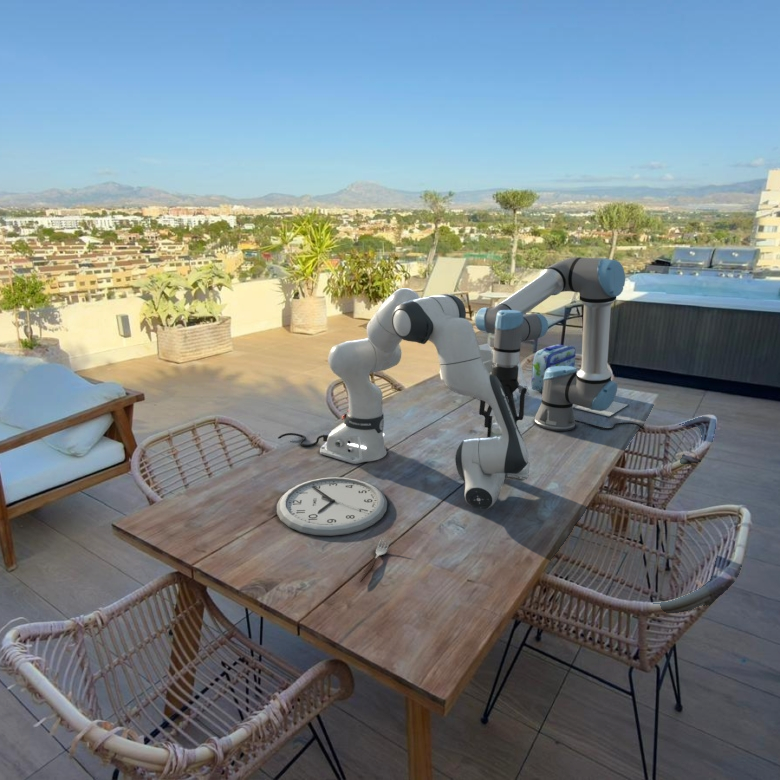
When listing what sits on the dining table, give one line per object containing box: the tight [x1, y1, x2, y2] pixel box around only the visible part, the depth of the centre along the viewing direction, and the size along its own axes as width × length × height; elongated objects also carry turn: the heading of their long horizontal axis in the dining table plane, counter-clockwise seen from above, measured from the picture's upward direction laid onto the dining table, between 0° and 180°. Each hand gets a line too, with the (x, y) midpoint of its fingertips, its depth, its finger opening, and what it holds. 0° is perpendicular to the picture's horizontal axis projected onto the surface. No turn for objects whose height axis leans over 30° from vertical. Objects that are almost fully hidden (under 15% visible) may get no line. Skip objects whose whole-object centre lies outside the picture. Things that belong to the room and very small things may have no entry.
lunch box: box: [530, 344, 577, 392], centre depth 247 cm, size 26×11×21 cm, turn 134°
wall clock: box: [276, 476, 388, 537], centre depth 142 cm, size 30×2×30 cm
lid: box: [490, 422, 501, 434], centre depth 157 cm, size 6×6×2 cm
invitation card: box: [573, 400, 629, 418], centre depth 226 cm, size 21×1×15 cm
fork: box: [359, 536, 392, 583], centre depth 118 cm, size 3×16×2 cm, turn 160°
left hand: (498, 454), depth 160 cm, fingers closed on jar, 5 cm apart
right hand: (499, 438), depth 158 cm, fingers closed on lid, 5 cm apart
